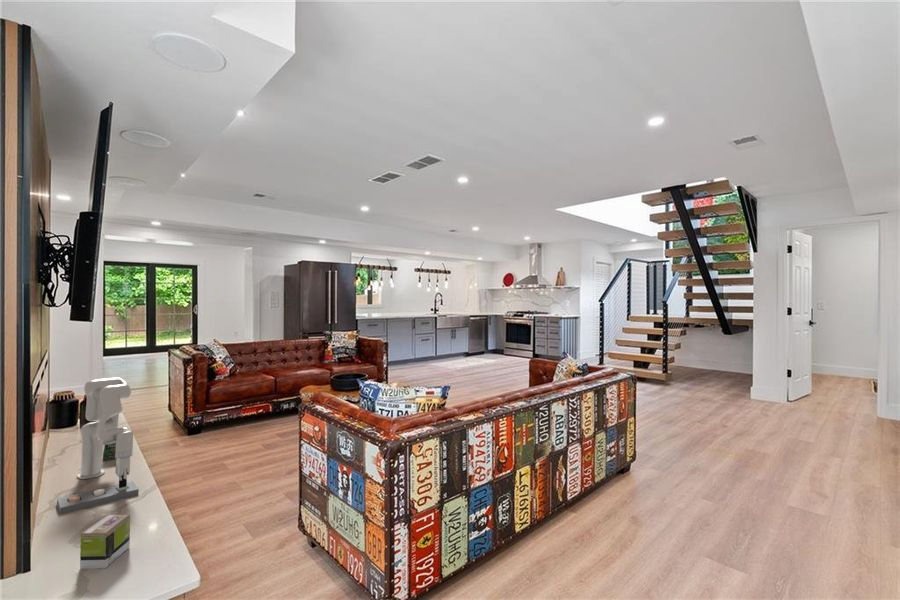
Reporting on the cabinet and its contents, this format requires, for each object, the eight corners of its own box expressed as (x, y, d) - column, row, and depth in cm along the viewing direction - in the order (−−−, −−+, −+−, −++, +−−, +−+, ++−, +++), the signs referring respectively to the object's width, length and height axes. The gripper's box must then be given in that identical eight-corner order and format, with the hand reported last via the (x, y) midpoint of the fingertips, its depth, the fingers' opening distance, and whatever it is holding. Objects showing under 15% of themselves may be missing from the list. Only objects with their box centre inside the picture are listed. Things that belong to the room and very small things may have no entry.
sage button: (116, 492, 235) (116, 486, 235) (126, 489, 238) (126, 484, 238) (118, 494, 232) (118, 489, 232) (127, 492, 235) (128, 486, 235)
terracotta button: (67, 503, 220) (68, 498, 220) (79, 501, 224) (79, 495, 224) (69, 506, 217) (69, 500, 217) (80, 504, 221) (80, 498, 221)
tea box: (105, 548, 185) (107, 513, 185) (130, 547, 186) (131, 513, 186) (78, 569, 170) (80, 532, 170) (105, 569, 171) (106, 532, 171)
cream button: (92, 496, 228) (93, 490, 228) (103, 493, 231) (103, 488, 231) (94, 499, 225) (94, 493, 225) (104, 496, 228) (105, 490, 228)
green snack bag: (102, 461, 278) (103, 432, 278) (103, 457, 285) (104, 429, 285) (120, 458, 284) (122, 430, 284) (121, 455, 290) (122, 427, 290)
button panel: (56, 504, 221) (57, 498, 221) (132, 486, 244) (132, 481, 244) (59, 514, 211) (60, 507, 211) (138, 494, 235) (138, 489, 235)
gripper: (112, 451, 238) (111, 484, 237) (118, 458, 227) (116, 493, 227) (129, 448, 243) (127, 480, 243) (135, 455, 233) (134, 489, 233)
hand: (122, 486), depth 235 cm, fingers closed
